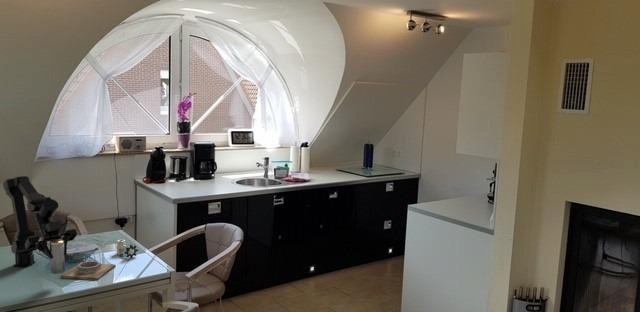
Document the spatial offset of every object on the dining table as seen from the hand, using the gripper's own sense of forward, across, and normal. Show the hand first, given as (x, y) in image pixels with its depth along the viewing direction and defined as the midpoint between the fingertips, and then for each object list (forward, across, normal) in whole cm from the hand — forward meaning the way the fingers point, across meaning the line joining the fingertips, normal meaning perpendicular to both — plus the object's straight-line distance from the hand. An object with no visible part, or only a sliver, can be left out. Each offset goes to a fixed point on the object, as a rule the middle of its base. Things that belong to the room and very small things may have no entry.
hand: (58, 256), depth 202 cm
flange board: (+4, +16, +14) cm, 21 cm away
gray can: (+4, 0, +6) cm, 7 cm away
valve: (-2, +38, +21) cm, 43 cm away
